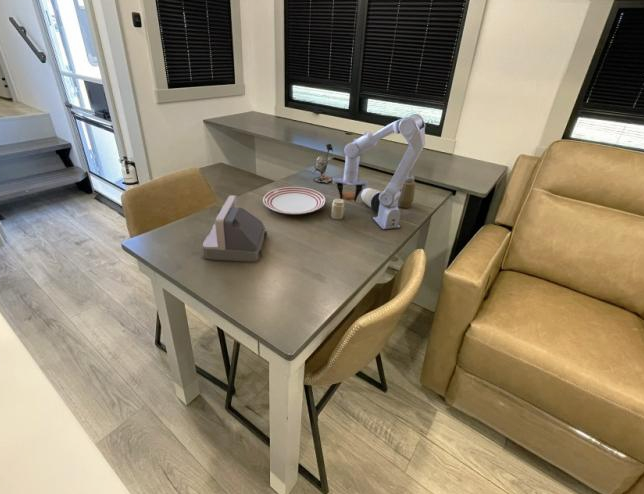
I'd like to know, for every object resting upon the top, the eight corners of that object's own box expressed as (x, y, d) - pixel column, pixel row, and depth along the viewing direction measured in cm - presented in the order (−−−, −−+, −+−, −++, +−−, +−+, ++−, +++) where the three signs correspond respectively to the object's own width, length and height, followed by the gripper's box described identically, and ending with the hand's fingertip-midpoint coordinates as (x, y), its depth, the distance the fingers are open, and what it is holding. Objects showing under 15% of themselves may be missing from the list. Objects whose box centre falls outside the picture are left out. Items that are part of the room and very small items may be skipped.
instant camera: (222, 226, 127) (218, 190, 119) (274, 233, 124) (274, 197, 117) (195, 257, 108) (189, 217, 101) (255, 267, 106) (254, 227, 99)
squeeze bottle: (410, 202, 157) (418, 166, 148) (413, 210, 150) (421, 172, 141) (393, 200, 157) (400, 164, 148) (395, 208, 150) (402, 171, 141)
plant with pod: (319, 175, 180) (321, 138, 170) (334, 181, 173) (338, 144, 163) (308, 178, 175) (310, 141, 165) (324, 185, 168) (326, 146, 158)
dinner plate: (252, 213, 137) (252, 206, 135) (276, 188, 161) (276, 182, 159) (316, 224, 132) (316, 217, 131) (330, 197, 156) (331, 191, 154)
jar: (345, 218, 138) (346, 202, 135) (333, 219, 137) (335, 204, 133) (340, 212, 143) (342, 197, 139) (329, 214, 141) (330, 198, 137)
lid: (342, 194, 146) (343, 190, 146) (355, 196, 145) (355, 192, 145) (340, 199, 142) (340, 195, 141) (353, 201, 141) (353, 197, 140)
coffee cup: (372, 206, 155) (387, 216, 141) (355, 201, 151) (370, 211, 138) (379, 188, 153) (395, 196, 139) (362, 183, 149) (378, 191, 136)
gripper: (333, 172, 134) (331, 202, 140) (369, 175, 134) (365, 205, 140) (333, 166, 140) (331, 195, 147) (367, 169, 140) (363, 198, 147)
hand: (347, 199), depth 144 cm, fingers closed on lid, 5 cm apart
